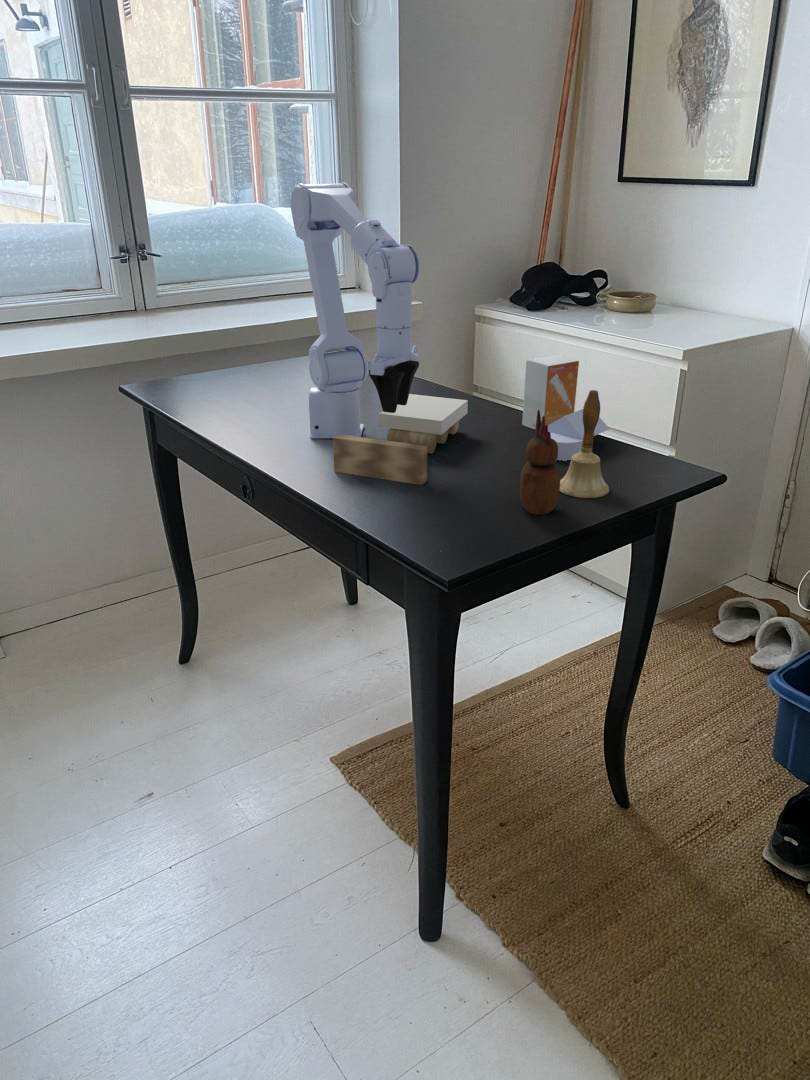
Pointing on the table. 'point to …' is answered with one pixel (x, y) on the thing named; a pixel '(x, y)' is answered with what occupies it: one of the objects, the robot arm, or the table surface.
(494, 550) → the table surface
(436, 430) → the slab
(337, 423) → the robot arm
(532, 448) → the wooden figurine
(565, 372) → the small box
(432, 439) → the roller track
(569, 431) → the wedge on round base
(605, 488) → the hand bell
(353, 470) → the block
